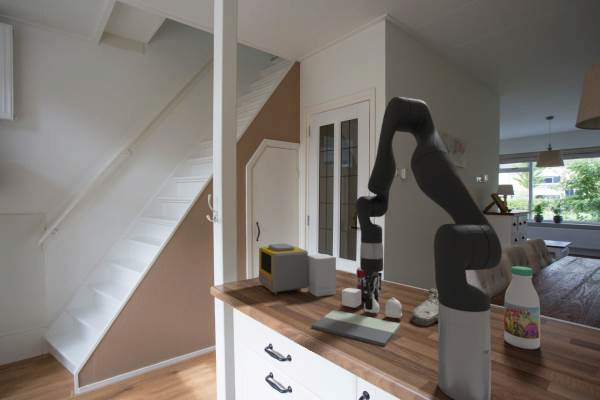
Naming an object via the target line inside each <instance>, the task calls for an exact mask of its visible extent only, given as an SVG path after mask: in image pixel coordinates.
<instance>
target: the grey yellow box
mask: <svg viewBox="0 0 600 400" xmlns="http://www.w3.org/2000/svg"><path fill="white" fill-rule="evenodd" d="M308 255H309V253H308V250H307V249H306V250H305V249H303V248H301V247H298V246H294V245H291V244H288V243H273V244H272V243H271V244H268V246H260V247H259V248H258V282H259V283H260V284H261V285H263V286H264V288H266V289H268V290H269V291H270V292H271V293H274V295H276V296H277V295H278V293H279V292H280V293H281V292H286V291H287V292H288V291H294V290H295V291H296V290H297V291H298V292H302V290H303V289H308Z"/></svg>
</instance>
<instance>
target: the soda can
mask: <svg viewBox="0 0 600 400" xmlns="http://www.w3.org/2000/svg"><path fill="white" fill-rule="evenodd" d="M364 276H365V271H363V270H361V269H360V267H358V268H357V269H356V277H355V278H356V289H360V290H361V304H365V297H362V289H361V279H364ZM370 292H371V291H370ZM367 294H368V292H367Z"/></svg>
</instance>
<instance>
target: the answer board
mask: <svg viewBox="0 0 600 400" xmlns="http://www.w3.org/2000/svg"><path fill="white" fill-rule="evenodd" d="M400 328H401V323H399V322H394V321H390V320H385V319H379V318H375V317H370V316H367V315H366V316H365V315H361V314H355V313H351V312H345V311H341V310H337V309H333V310H332V311H330V312H328V313H327V314H326V315H324V316H323V317H321V318H319V320H317V321H315V322H314V323H312V324H311V329H315V330H318V331H319V330H320V331H324V332H327V333H332V334H335V335H339V336H342V337H347V338H351V339H354V340H358V341H363V342H366V343H370V344H375V345H379V346H382V347H386V345H387V344H388V343H389V341H390V340H391V339H392V338H393V337H394V335H395V334H396V333H397V332H398V330H399V329H400Z"/></svg>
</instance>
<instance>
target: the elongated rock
mask: <svg viewBox="0 0 600 400" xmlns="http://www.w3.org/2000/svg"><path fill="white" fill-rule="evenodd" d="M427 294H428V296H427V297H426V299H425V301H423V302H421V303H420V304H419V305H417V306H416V307H415V308H414V309H413V310H411V315H410V320H412V323H414V324H415V325H418V326H421V327H430V326H431V325H433V324H434V323H436V322H438V291H437V288H436V289H435V288H434V287H433V288H429V290H428V293H427Z"/></svg>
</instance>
